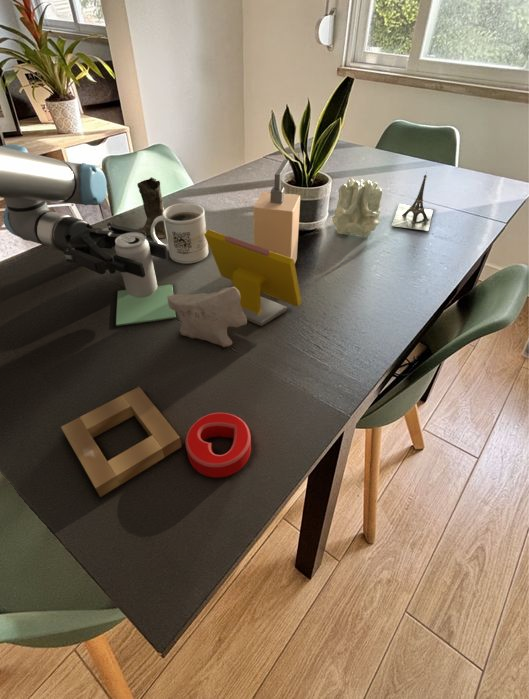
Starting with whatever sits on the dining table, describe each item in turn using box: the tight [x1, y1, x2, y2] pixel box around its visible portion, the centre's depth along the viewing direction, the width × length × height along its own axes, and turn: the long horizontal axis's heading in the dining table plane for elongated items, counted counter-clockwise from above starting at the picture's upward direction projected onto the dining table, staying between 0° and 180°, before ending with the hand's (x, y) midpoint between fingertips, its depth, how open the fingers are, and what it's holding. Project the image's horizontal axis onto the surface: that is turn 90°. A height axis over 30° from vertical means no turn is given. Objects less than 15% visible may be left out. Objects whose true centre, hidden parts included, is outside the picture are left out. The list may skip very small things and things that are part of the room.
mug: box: [150, 202, 209, 264], centre depth 104 cm, size 10×12×11 cm
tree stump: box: [137, 177, 166, 239], centre depth 112 cm, size 10×10×13 cm
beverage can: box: [114, 232, 158, 298], centre depth 85 cm, size 6×6×12 cm
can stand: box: [60, 386, 183, 498], centre depth 65 cm, size 13×13×2 cm
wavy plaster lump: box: [331, 177, 383, 238], centre depth 114 cm, size 18×13×16 cm
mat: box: [115, 284, 177, 327], centre depth 92 cm, size 12×12×1 cm
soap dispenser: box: [252, 159, 301, 264], centre depth 97 cm, size 13×9×22 cm
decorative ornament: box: [185, 412, 252, 478], centre depth 64 cm, size 10×10×3 cm
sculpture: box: [167, 286, 248, 348], centre depth 78 cm, size 17×5×15 cm, turn 69°
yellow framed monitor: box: [204, 229, 302, 327], centre depth 86 cm, size 20×8×16 cm, turn 56°
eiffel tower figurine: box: [391, 170, 434, 232], centre depth 117 cm, size 15×10×13 cm
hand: (154, 261), depth 82 cm, fingers closed on beverage can, 6 cm apart
